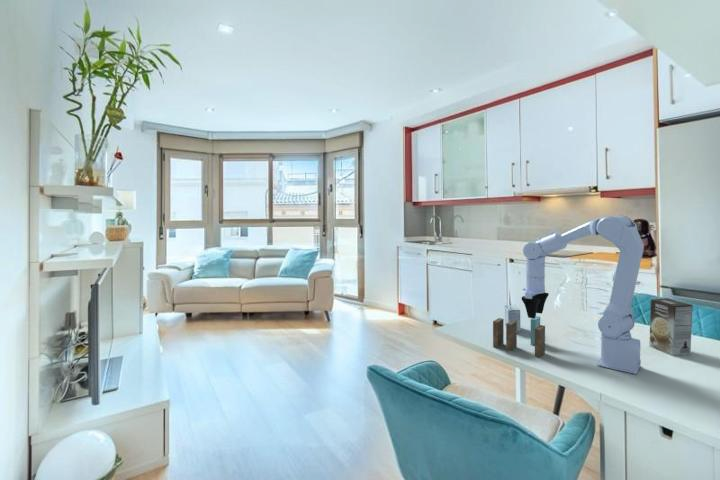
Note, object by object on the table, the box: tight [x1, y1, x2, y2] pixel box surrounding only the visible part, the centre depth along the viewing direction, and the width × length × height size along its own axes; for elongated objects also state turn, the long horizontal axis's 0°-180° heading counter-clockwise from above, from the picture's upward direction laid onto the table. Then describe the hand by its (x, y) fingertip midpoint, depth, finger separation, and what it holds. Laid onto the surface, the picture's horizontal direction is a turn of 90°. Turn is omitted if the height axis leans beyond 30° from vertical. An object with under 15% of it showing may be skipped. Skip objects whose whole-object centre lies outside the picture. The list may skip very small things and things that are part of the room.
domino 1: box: [505, 320, 518, 352], centre depth 125 cm, size 2×5×9 cm, turn 137°
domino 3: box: [534, 324, 546, 359], centre depth 119 cm, size 2×5×9 cm, turn 137°
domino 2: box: [530, 315, 541, 347], centre depth 129 cm, size 2×5×9 cm, turn 137°
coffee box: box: [649, 297, 694, 357], centre depth 119 cm, size 9×6×16 cm
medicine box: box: [504, 304, 522, 333], centre depth 145 cm, size 8×4×9 cm, turn 168°
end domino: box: [492, 317, 505, 349], centre depth 128 cm, size 2×5×9 cm, turn 138°
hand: (535, 315), depth 129 cm, fingers open, 7 cm apart
